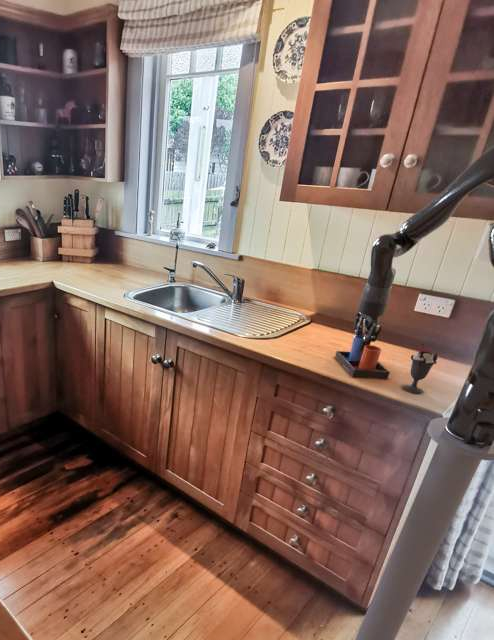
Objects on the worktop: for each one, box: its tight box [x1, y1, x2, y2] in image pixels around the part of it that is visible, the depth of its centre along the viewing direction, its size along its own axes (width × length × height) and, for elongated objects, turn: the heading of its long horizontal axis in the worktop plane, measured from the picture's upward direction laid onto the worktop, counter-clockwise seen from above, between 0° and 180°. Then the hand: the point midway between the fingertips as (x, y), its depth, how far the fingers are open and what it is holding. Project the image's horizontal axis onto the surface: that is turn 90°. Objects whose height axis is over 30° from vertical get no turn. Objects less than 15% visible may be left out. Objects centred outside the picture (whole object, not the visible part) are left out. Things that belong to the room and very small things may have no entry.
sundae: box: [403, 343, 438, 394], centre depth 138 cm, size 7×7×15 cm
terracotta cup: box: [358, 344, 382, 370], centre depth 148 cm, size 5×5×8 cm
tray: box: [334, 350, 391, 380], centre depth 153 cm, size 15×11×3 cm
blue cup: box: [349, 334, 364, 361], centre depth 154 cm, size 5×5×8 cm
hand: (360, 347), depth 154 cm, fingers closed on blue cup, 5 cm apart
